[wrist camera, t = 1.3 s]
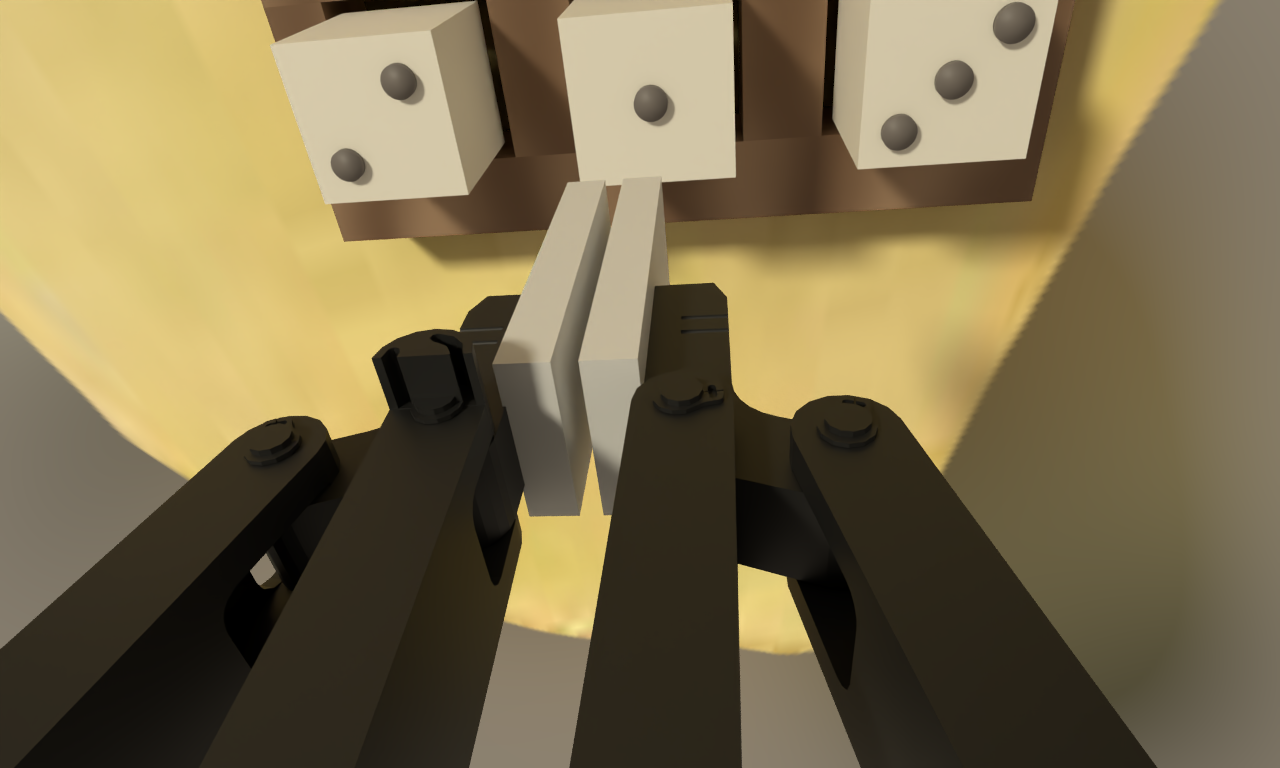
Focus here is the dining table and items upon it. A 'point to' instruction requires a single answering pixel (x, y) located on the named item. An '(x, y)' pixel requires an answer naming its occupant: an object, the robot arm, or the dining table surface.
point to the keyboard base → (764, 184)
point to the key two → (394, 101)
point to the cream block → (650, 88)
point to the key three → (939, 79)
